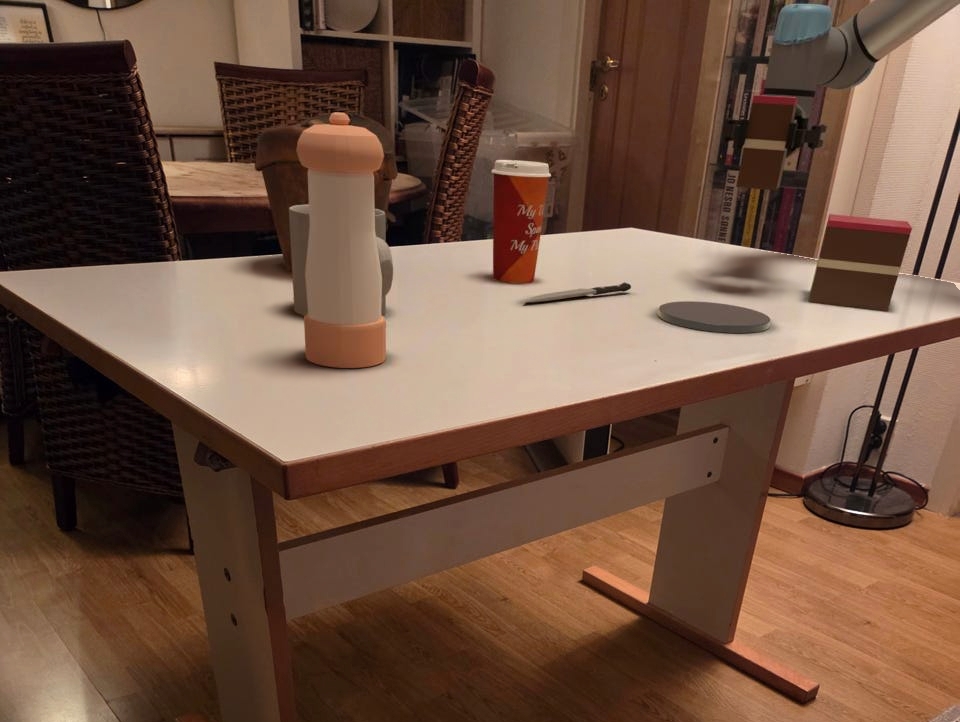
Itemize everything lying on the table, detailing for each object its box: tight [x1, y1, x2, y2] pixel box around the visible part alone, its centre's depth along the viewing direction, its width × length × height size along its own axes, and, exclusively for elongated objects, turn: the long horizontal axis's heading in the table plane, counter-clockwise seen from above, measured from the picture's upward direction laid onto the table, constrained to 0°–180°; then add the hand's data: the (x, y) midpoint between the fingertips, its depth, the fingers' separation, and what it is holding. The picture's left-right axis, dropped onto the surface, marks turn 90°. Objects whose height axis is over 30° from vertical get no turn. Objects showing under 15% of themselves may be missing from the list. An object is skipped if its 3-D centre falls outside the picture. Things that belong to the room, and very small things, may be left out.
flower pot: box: [254, 112, 399, 272], centre depth 111 cm, size 18×20×18 cm
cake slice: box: [735, 94, 798, 191], centre depth 110 cm, size 5×8×10 cm, turn 160°
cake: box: [808, 213, 913, 312], centre depth 115 cm, size 10×8×10 cm
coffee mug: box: [289, 204, 394, 317], centre depth 91 cm, size 13×10×10 cm
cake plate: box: [657, 300, 771, 334], centre depth 102 cm, size 13×13×1 cm
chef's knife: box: [523, 281, 632, 303], centre depth 109 cm, size 19×1×3 cm
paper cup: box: [490, 159, 552, 284], centre depth 113 cm, size 8×8×14 cm
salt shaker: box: [296, 111, 387, 369], centre depth 74 cm, size 7×7×19 cm
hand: (766, 134), depth 105 cm, fingers closed on cake slice, 5 cm apart
